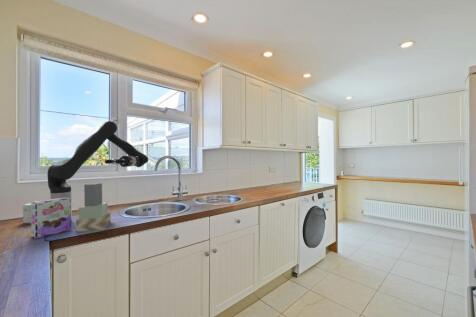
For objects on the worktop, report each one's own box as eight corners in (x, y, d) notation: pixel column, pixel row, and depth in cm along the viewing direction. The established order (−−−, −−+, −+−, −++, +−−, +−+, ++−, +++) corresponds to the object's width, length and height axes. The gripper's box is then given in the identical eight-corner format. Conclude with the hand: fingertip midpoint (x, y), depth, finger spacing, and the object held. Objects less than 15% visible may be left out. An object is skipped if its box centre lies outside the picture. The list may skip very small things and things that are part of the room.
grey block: (84, 205, 113) (84, 184, 113) (92, 203, 118) (92, 183, 118) (94, 205, 113) (94, 184, 113) (102, 203, 118) (101, 183, 118)
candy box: (35, 239, 99) (34, 202, 99) (30, 236, 102) (30, 201, 102) (71, 230, 111) (70, 197, 110) (66, 228, 114) (65, 196, 114)
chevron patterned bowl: (76, 232, 108) (76, 220, 108) (86, 225, 120) (86, 214, 120) (103, 230, 112) (103, 218, 111) (110, 223, 123) (110, 212, 123)
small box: (45, 220, 128) (45, 202, 128) (35, 223, 123) (35, 204, 123) (33, 220, 129) (32, 202, 129) (22, 223, 124) (22, 204, 124)
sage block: (78, 219, 109) (78, 207, 109) (86, 214, 119) (86, 203, 119) (101, 217, 112) (101, 206, 112) (107, 213, 122) (107, 202, 122)
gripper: (118, 155, 153) (101, 155, 137) (137, 155, 151) (122, 155, 135) (118, 166, 153) (101, 167, 137) (137, 166, 151) (122, 167, 135)
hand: (111, 161), depth 136 cm, fingers open, 8 cm apart
